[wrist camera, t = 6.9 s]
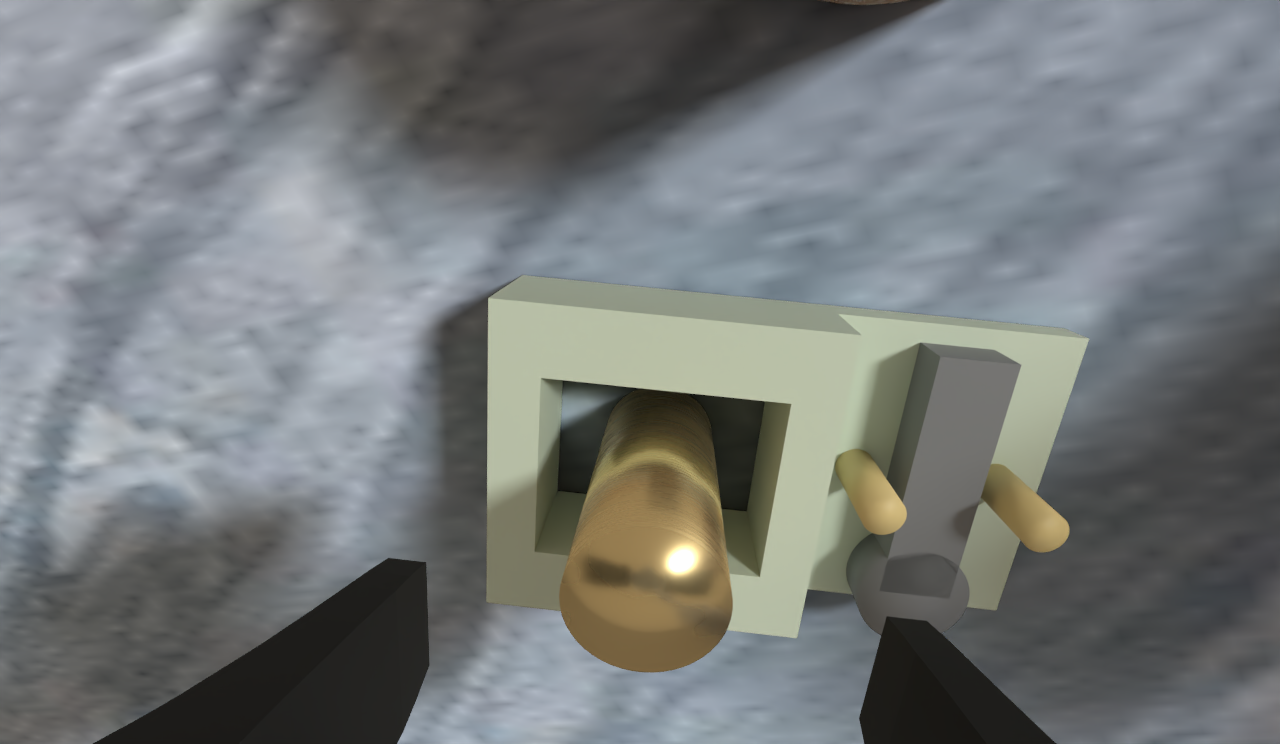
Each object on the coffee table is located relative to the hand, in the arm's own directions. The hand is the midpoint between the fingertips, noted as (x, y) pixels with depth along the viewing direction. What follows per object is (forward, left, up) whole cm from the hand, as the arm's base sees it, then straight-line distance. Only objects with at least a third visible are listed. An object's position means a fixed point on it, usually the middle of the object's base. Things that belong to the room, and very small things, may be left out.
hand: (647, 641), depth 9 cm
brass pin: (0, 0, -8) cm, 8 cm away
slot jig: (-3, 0, -8) cm, 9 cm away
